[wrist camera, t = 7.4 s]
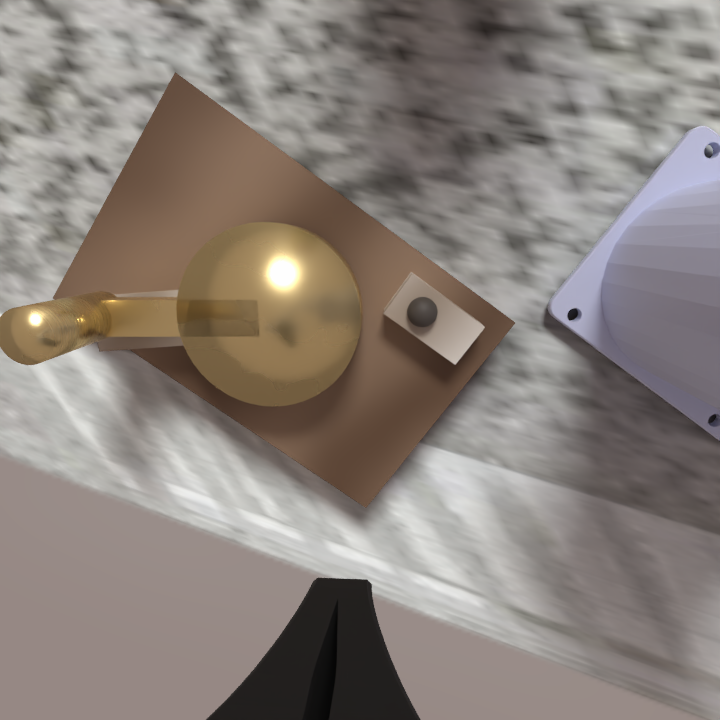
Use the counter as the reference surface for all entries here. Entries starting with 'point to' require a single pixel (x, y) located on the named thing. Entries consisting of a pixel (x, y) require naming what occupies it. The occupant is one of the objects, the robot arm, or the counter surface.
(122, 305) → the gold door handle
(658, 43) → the counter surface
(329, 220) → the stand
